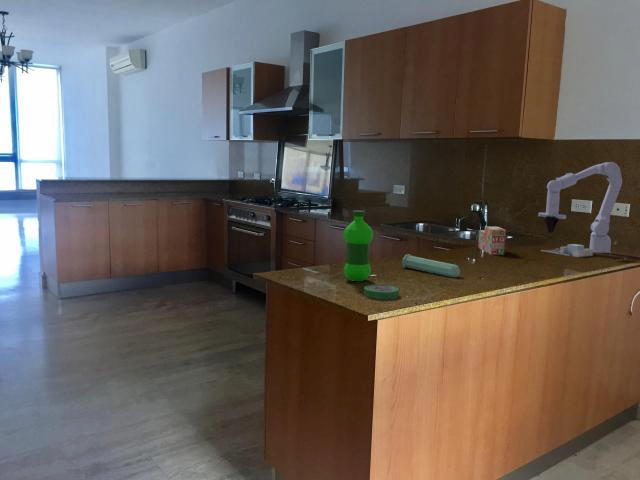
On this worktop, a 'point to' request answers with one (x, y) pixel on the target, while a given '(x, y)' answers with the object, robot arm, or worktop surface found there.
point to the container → (430, 266)
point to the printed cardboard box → (492, 240)
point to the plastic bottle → (357, 248)
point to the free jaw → (563, 249)
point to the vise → (574, 252)
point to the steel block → (573, 248)
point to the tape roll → (381, 291)
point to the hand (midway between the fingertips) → (550, 232)
